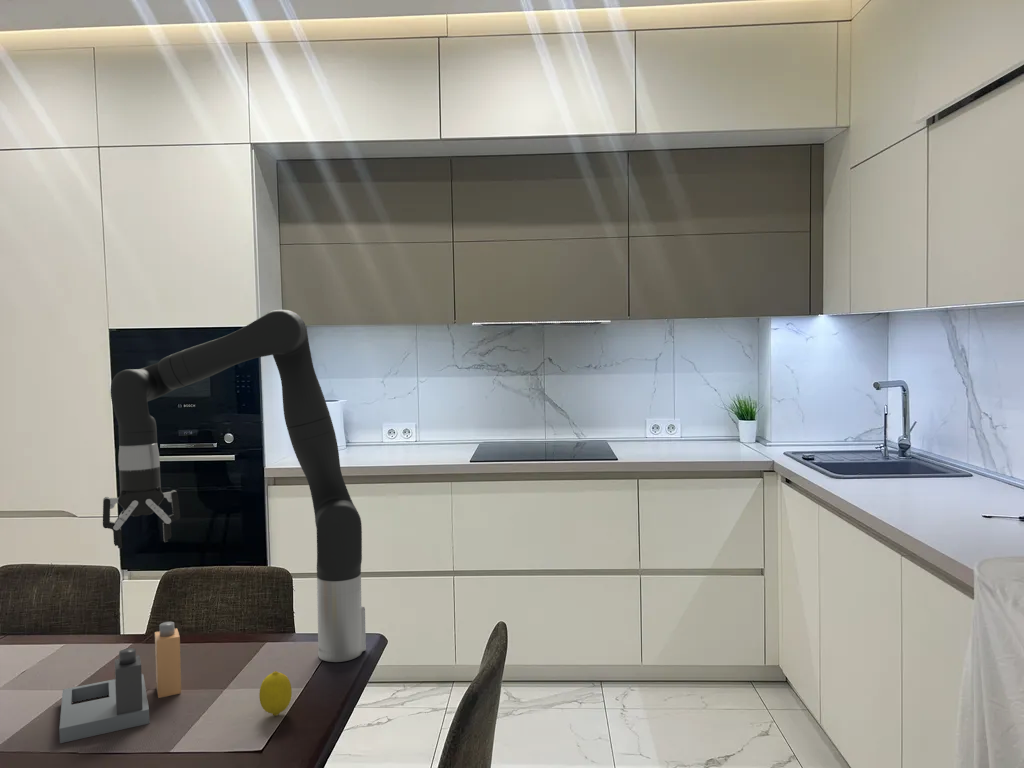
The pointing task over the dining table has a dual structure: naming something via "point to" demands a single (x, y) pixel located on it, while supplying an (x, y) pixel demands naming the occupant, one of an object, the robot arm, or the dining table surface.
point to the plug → (167, 660)
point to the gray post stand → (106, 702)
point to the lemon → (275, 693)
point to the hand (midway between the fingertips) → (143, 544)
